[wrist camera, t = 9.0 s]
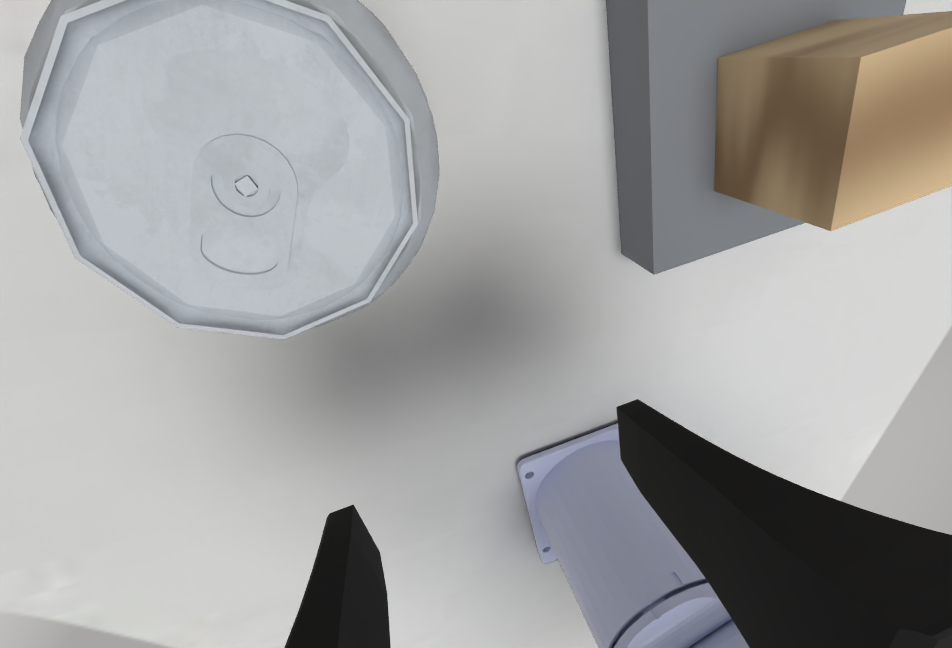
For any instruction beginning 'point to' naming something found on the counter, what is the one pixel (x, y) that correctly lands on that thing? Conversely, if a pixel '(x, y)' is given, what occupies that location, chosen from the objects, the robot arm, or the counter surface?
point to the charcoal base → (691, 117)
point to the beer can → (232, 155)
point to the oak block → (838, 118)
